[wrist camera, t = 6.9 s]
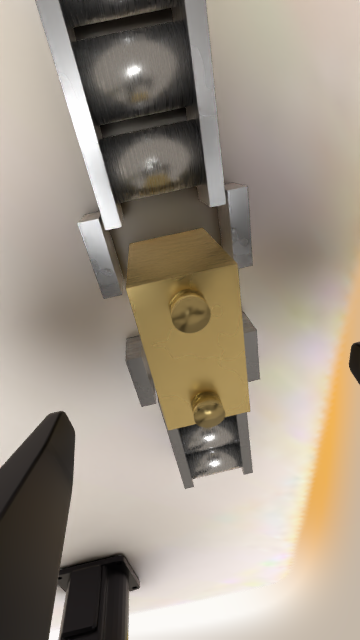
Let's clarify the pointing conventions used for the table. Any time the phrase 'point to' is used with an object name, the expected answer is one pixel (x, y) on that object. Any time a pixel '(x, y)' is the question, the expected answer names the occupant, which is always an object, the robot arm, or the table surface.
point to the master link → (190, 326)
